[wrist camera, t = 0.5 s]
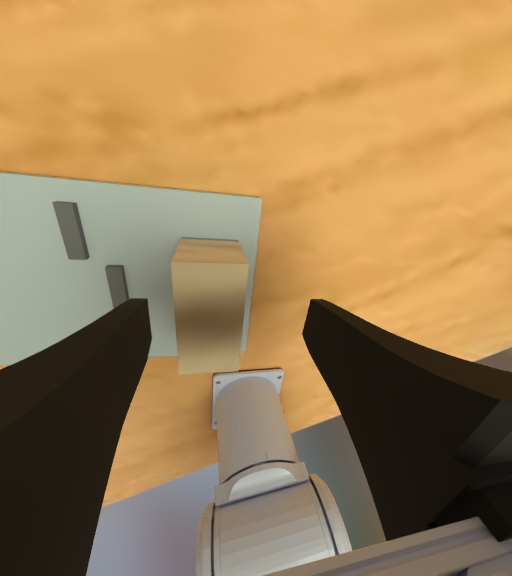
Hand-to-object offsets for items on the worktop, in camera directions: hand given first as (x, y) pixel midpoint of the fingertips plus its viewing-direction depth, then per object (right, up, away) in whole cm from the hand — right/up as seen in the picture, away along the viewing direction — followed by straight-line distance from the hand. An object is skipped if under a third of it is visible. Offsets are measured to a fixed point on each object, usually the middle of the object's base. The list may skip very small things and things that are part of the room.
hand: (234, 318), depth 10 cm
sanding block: (-3, +1, +8) cm, 8 cm away
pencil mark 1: (-11, +5, +4) cm, 12 cm away
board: (-9, +2, +8) cm, 12 cm away
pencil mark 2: (-9, +1, +6) cm, 11 cm away
